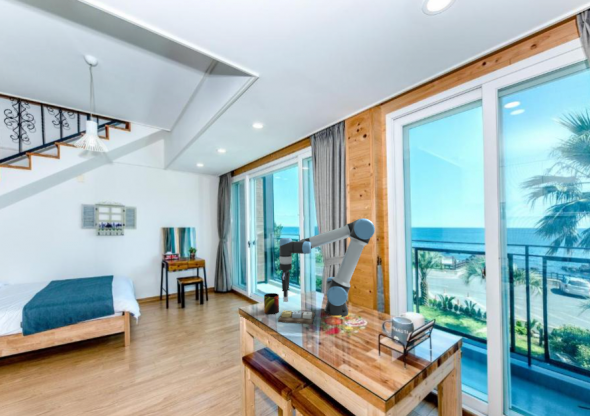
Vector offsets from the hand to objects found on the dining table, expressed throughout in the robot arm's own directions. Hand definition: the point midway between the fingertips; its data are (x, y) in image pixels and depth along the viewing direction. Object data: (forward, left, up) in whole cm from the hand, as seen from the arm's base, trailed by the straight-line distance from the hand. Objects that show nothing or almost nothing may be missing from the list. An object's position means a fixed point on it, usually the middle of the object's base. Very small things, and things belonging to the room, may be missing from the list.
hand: (285, 301), depth 163 cm
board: (-7, 0, -11) cm, 13 cm away
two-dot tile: (-7, 0, -10) cm, 12 cm away
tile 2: (-13, 0, -10) cm, 17 cm away
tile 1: (0, 0, -10) cm, 10 cm away
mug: (+13, -10, -11) cm, 20 cm away
